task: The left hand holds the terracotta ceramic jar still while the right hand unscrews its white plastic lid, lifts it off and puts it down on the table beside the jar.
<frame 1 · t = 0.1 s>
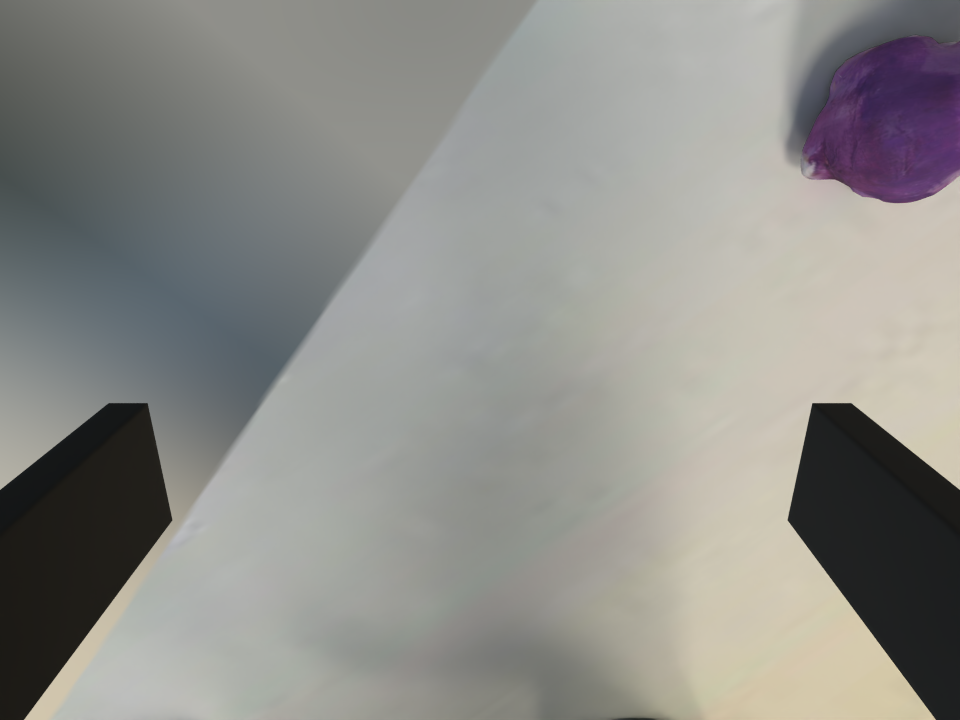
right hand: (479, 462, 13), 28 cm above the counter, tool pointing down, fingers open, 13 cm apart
figurine: (889, 104, 36), on the counter
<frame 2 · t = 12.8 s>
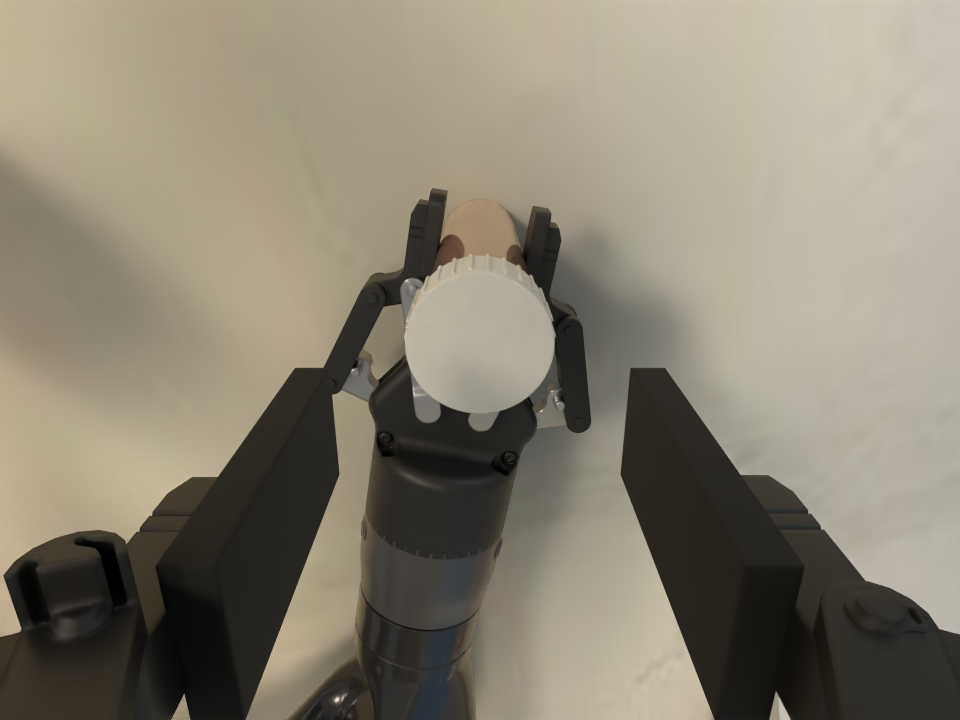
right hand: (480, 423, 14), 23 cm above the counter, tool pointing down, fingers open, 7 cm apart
left hand: (491, 202, 29), fingers closed on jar, 4 cm apart
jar: (479, 236, 35), on the counter, touching left hand
lid: (479, 342, 19), point 17 cm above the counter, screwed on, not yet turned
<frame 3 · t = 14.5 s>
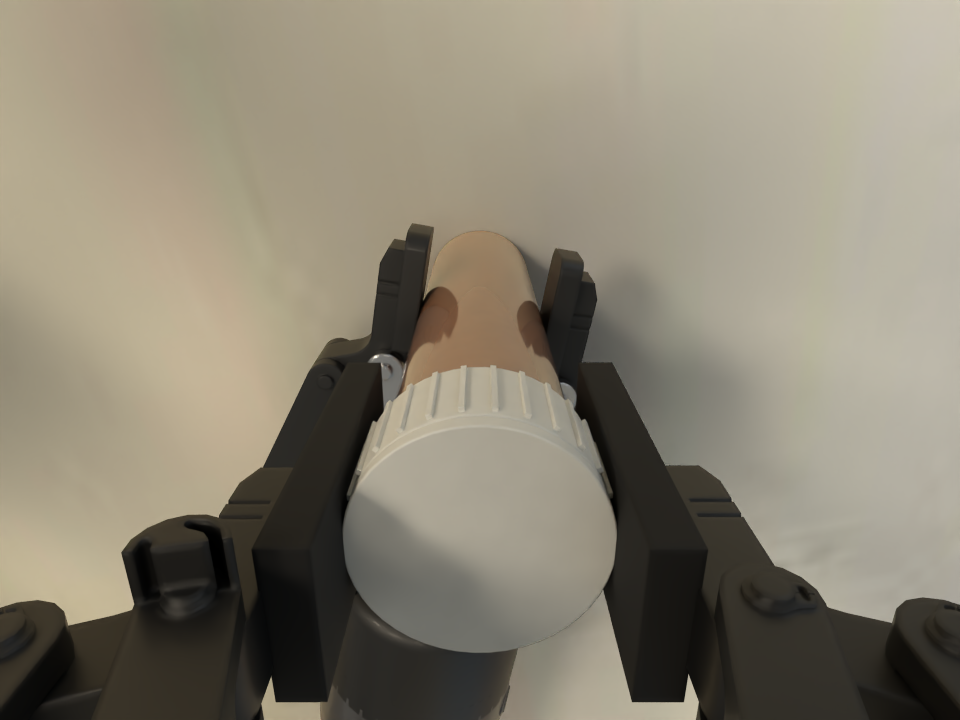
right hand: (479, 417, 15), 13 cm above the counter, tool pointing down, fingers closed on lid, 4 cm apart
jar: (479, 278, 27), on the counter, touching left hand
lid: (479, 535, 11), point 17 cm above the counter, screwed on, not yet turned, touching right hand
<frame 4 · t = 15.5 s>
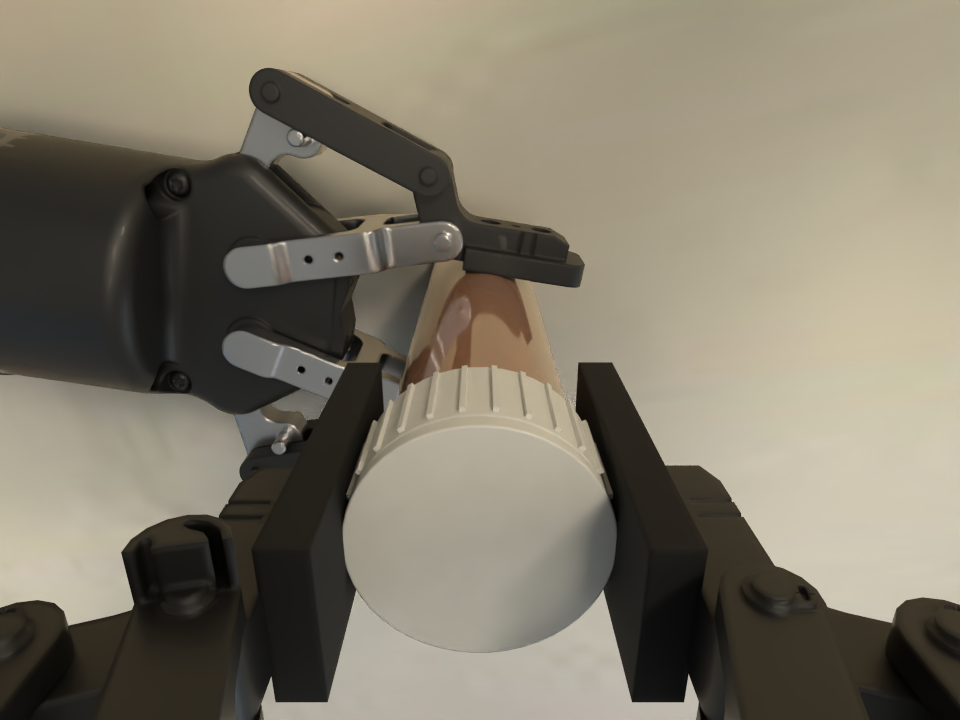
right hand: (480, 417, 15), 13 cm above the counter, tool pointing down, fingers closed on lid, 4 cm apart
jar: (480, 276, 27), on the counter, touching left hand
lid: (479, 535, 11), point 18 cm above the counter, turned 89° so far, risen 0.3 cm, still on its thread, touching right hand
when the right hand's fingers open (0 cm above the counter, at t = 21.1 s): lid drops 2 cm, point 2 cm above the counter.
when the left hand's fingers open (6 cm above the counter, at t = 21.7 s): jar stays where it is, on the counter.
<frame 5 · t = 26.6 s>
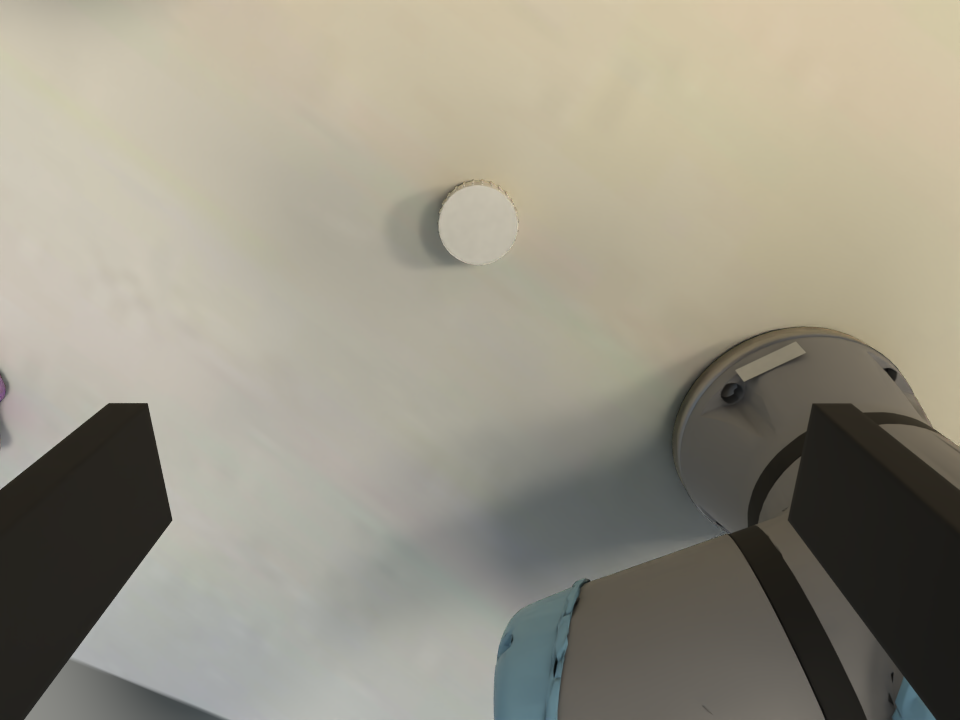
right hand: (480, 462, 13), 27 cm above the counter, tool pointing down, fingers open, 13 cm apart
lid: (478, 225, 36), point 2 cm above the counter, off its thread
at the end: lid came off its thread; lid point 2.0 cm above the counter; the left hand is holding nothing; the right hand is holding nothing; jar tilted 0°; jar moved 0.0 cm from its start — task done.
